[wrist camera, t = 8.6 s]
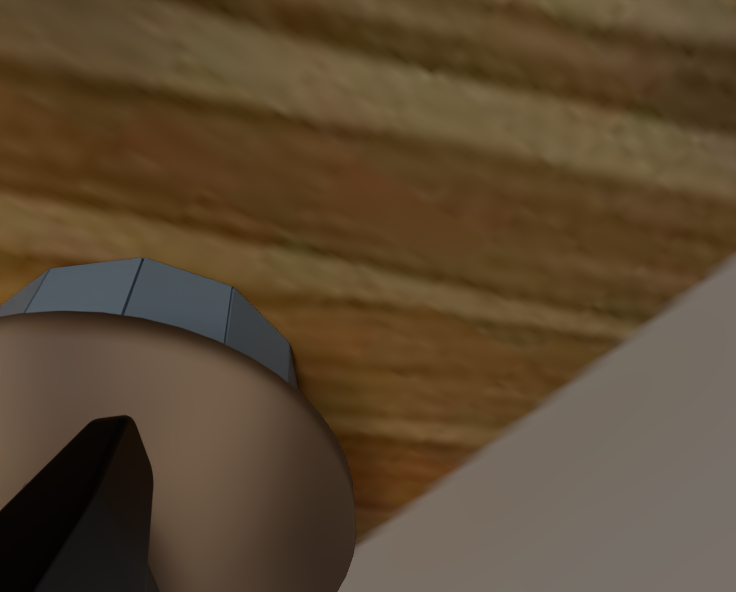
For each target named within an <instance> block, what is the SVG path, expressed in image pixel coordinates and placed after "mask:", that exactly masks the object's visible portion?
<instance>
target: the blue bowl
mask: <svg viewBox="0 0 736 592" xmlns="http://www.w3.org/2000/svg"><path fill="white" fill-rule="evenodd" d="M231 288H232V286H229V285H226V284H223V283H220V282H217V281H214V280H211V279H208V278H205V277H202V276H199V275H196V274H192V273H189V272H186V271H183V270H180V269H177V268H174V267H171V266H168V265H165V264H162V263H159V262H156V261H153V260H150V259H147V258H144V261H143V260H142V258H134V259H126V260H118V261H109V262H101V263H93V264H85V265H76V266H68V267H60V268H52V269H50V270H47V271H46V272H44V273H43V274H42V275H41V276H39V277H38V278H37V279H35V280H34V281H33V282H31V283H30V284H29V285H27V286H26V287H25V288H23V289H22V290H21V291H20V292H18V293H17V294H16V295H14V296H13V297H12V298H10V299H9V300H8V301H6V302H5V303H4V304H2V305H1V306H0V317H1V316H7V315H13V314H18V313H31V312H46V311H86V312H104V313H111V314H118V315H126V316H133V317H140V318H145V319H149V320H153V321H157V322H161V323H165V324H169V325H173V326H177V327H181V328H184V329H187V330H190V331H192V332H195V333H198V334H201V335H203V336H206V337H209V338H212V339H214V340H217V341H219V342H221V343H223V344H225V345H227V346H230V347H232V348H234V349H236V350H238V351H240V352H242V353H244V354H246V355H248V356H250V357H252V358H253V359H255V360H256V361H258V362H259V363H261V364H262V365H264V366H266V367H267V368H269V369H270V370H272V371H273V372H275V373H276V374H278V375H279V376H281V377H282V378H283V379H284V380H285V381H287V382H288V383H289V384H290V385H291V386H293V387H294V388H295V389H296V390H297V391H298V386H297V380H296V375H295V370H294V364H293V359H292V354H291V349H290V344H289V342H288V341H287V340H286V339H285V338H284V337H283V336H282V335H281V334H280V333H279V332H278V331H277V330H276V329H275V328H274V327H273V326H272V325H271V324H270V323H269V322H268V321H267V320H266V319H265V318H264V317H263V316H262V315H261V314H260V313H259V312H258V311H257V310H256V309H255V308H254V307H253V306H252V305H251V304H250V303H249V302H248V301H247V300H246V299H245V298H244V297H243V296H242V295H241V294H240V293H239V292H238V291H237V290H236V289H235V288H233V289H231Z"/></svg>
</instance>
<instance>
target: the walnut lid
mask: <svg viewBox="0 0 736 592" xmlns="http://www.w3.org/2000/svg"><path fill="white" fill-rule="evenodd" d="M119 415H127V416H130V417H132V419H133V420H134V421H135V423H136V425H137V428H138V430H139V433H140V436H141V439H142V441H143V444H144V447H145V450H146V452H147V455H148V458H149V460H150V463H151V466H152V471H153V480H154V487H153V501H152V514H151V527H150V541H149V554H148V567H147V580H146V592H337V591H338V589H339V588H340V586H341V584H342V582H343V581H344V579H345V577H346V575H347V572H348V569H349V566H350V563H351V561H352V558H353V554H354V547H355V540H356V520H355V506H354V495H353V484H352V479H351V475H350V471H349V467H348V463H347V460H346V458H345V455H344V453H343V451H342V449H341V446H340V444H339V442H338V440H337V438H336V436H335V435H334V433H333V432H332V430H331V429H330V427H329V426H328V424H327V423H326V421H325V420H324V418H323V417H322V416H321V415H320V413H319V412H318V411H317V410H316V409H315V408H314V407H313V406H312V405H311V403H310V402H309V401H308V400H307V399H306V398H305V397H304V396H303V395H302V394H301V393H300V392H299V391H297V390H296V389H295V388H294V387H293V386H291V385H290V384H289V383H288V382H287V381H285V380H284V379H283V378H282V377H281V376H279V375H278V374H276V373H275V372H273V371H272V370H270V369H269V368H267V367H266V366H264V365H262V364H261V363H259V362H258V361H256V360H255V359H253V358H252V357H250V356H248V355H246V354H244V353H242V352H240V351H238V350H236V349H234V348H232V347H230V346H227V345H225V344H223V343H221V342H219V341H217V340H214V339H212V338H209V337H206V336H203V335H201V334H198V333H195V332H192V331H190V330H187V329H184V328H181V327H177V326H173V325H169V324H165V323H161V322H157V321H153V320H149V319H145V318H140V317H133V316H126V315H118V314H111V313H104V312H86V311H46V312H31V313H18V314H13V315H7V316H1V317H0V510H1V509H2V508H3V507H4V506H5V505H6V504H7V503H8V502H9V501H10V500H11V499H12V498H13V497H14V496H15V495H16V494H17V493H18V492H19V491H20V490H21V489H22V488H23V487H24V486H25V485H26V484H27V483H28V482H29V481H30V480H31V479H32V478H33V477H34V476H35V475H36V474H37V473H38V472H39V471H40V470H41V469H42V468H43V467H44V466H45V465H46V464H47V463H48V462H50V461H51V460H52V459H53V458H54V457H55V456H56V455H57V454H58V453H59V452H60V451H61V450H62V449H63V448H64V447H65V446H66V445H67V444H68V443H69V442H70V441H71V440H72V439H73V438H74V437H75V436H76V435H77V434H78V433H79V432H80V431H81V430H82V429H83V428H84V427H85V426H86V425H87V424H88V423H89V422H91V421H92V420H94V419H97V418H103V417H111V416H119Z"/></svg>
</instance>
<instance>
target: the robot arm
mask: <svg viewBox="0 0 736 592" xmlns="http://www.w3.org/2000/svg"><path fill="white" fill-rule="evenodd" d="M153 487H154V480H153V471H152V466H151V463H150V460H149V458H148V455H147V452H146V450H145V447H144V444H143V441H142V439H141V436H140V433H139V430H138V428H137V425H136V423H135V421H134V420H133V419H132V417H130V416H127V415H119V416H111V417H103V418H97V419H94V420H92V421H91V422H89V423H88V424H87V425H86V426H85V427H84V428H83V429H82V430H81V431H80V432H79V433H78V434H77V435H76V436H75V437H74V438H73V439H72V440H71V441H70V442H69V443H68V444H67V445H66V446H65V447H64V448H63V449H62V450H61V451H60V452H59V453H58V454H57V455H56V456H55V457H54V458H53V459H52V460H51V461H50V462H48V463H47V464H46V465H45V466H44V467H43V468H42V469H41V470H40V471H39V472H38V473H37V474H36V475H35V476H34V477H33V478H32V479H31V480H30V481H29V482H28V483H27V484H26V485H25V486H24V487H23V488H22V489H21V490H20V491H19V492H18V493H17V494H16V495H15V496H14V497H13V498H12V499H11V500H10V501H9V502H8V503H7V504H6V505H5V506H4V507H3V508H2V509H1V510H0V592H146V580H147V567H148V554H149V541H150V527H151V514H152V501H153Z"/></svg>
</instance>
